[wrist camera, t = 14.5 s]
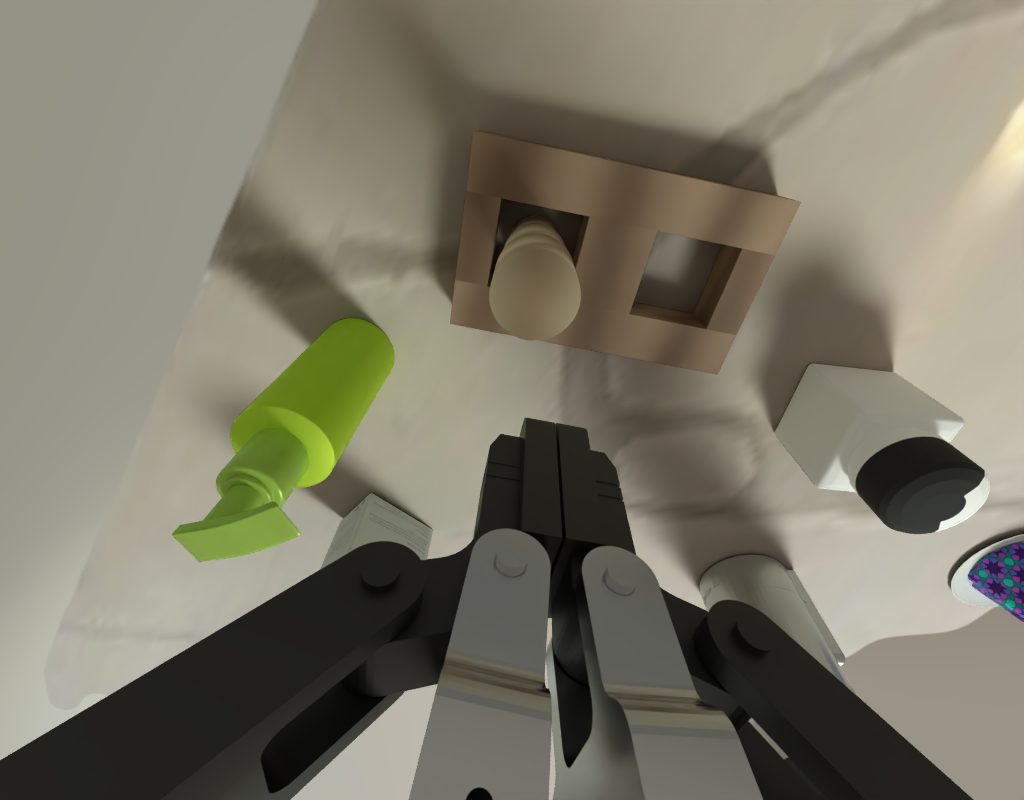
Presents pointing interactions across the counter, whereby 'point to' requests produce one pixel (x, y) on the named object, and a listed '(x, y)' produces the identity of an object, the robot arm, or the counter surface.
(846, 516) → the counter surface
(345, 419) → the soap dispenser
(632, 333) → the board
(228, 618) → the counter surface
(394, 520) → the skincare box
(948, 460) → the medicine bottle
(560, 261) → the peg
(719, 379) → the counter surface
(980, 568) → the pudding
